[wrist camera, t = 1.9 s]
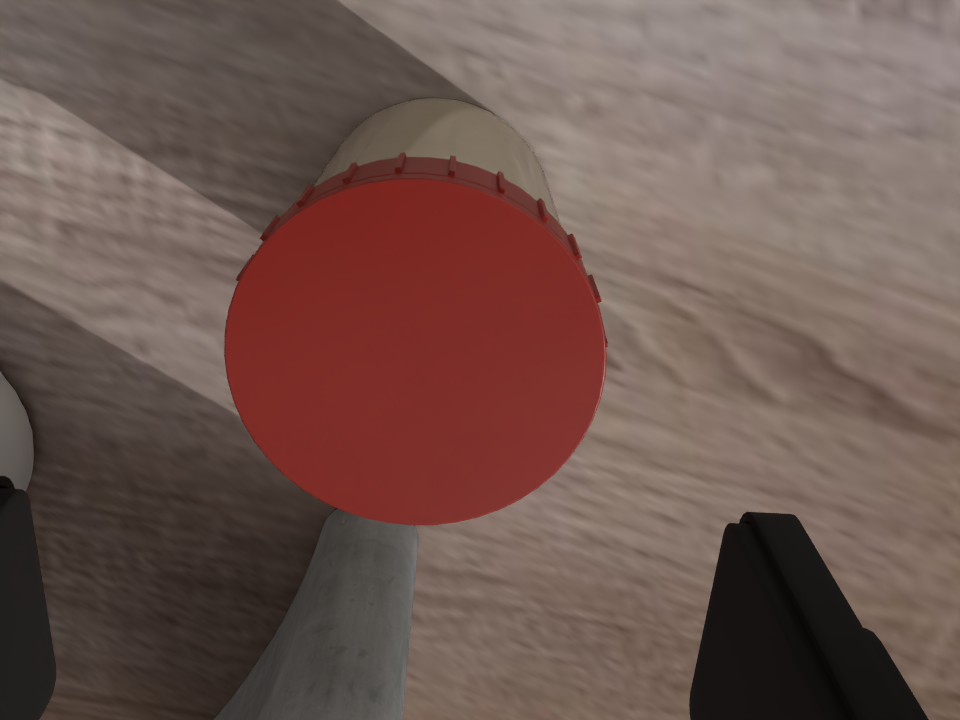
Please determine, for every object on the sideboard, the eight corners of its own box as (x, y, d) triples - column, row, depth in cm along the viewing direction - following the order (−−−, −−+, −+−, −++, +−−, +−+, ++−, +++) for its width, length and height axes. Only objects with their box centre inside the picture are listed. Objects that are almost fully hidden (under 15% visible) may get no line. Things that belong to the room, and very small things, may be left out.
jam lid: (235, 140, 16) (209, 161, 14) (618, 165, 16) (634, 188, 15) (250, 471, 19) (230, 519, 17) (576, 488, 19) (586, 537, 18)
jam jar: (319, 89, 24) (231, 171, 15) (562, 106, 24) (613, 195, 15) (321, 316, 26) (247, 496, 18) (539, 329, 26) (572, 513, 18)
